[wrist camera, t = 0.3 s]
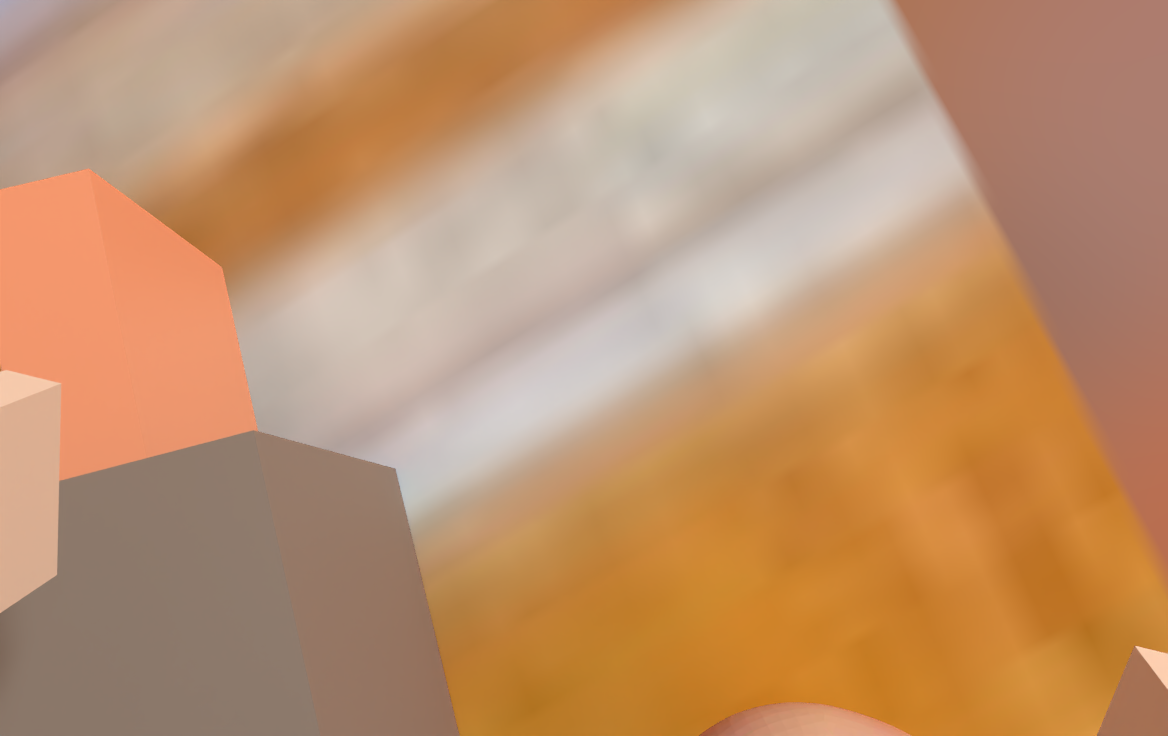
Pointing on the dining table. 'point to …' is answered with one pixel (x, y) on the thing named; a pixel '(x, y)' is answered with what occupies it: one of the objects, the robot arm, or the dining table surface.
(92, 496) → the gray rectangular block
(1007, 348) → the dining table surface
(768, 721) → the decorative fruit
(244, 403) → the orange rectangular block
